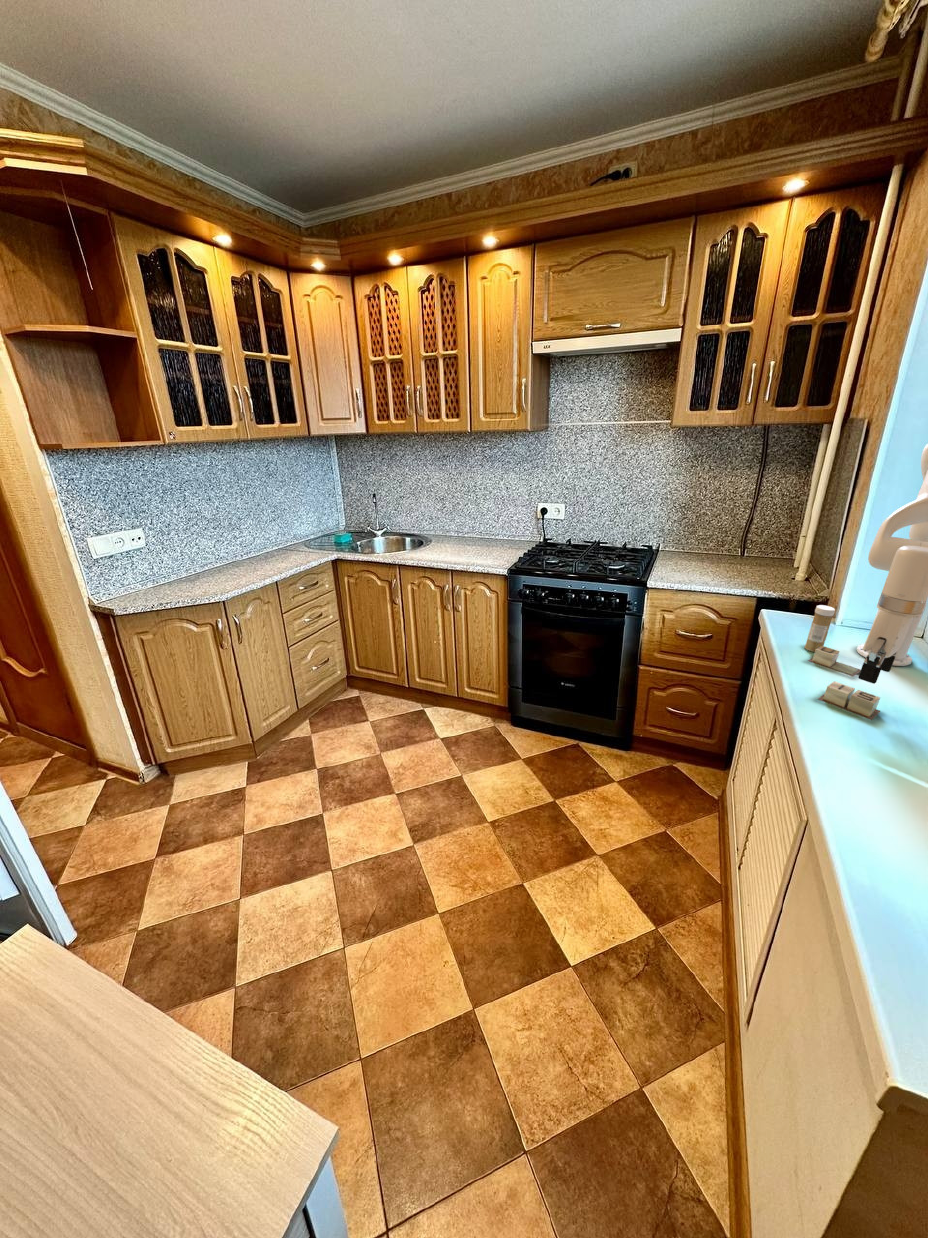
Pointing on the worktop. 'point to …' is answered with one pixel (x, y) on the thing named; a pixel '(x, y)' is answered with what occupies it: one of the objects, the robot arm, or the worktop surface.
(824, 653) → the beige narrow stepped slab
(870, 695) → the small square block
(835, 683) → the near stepped slab
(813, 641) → the sprinkles bottle
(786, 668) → the worktop surface
